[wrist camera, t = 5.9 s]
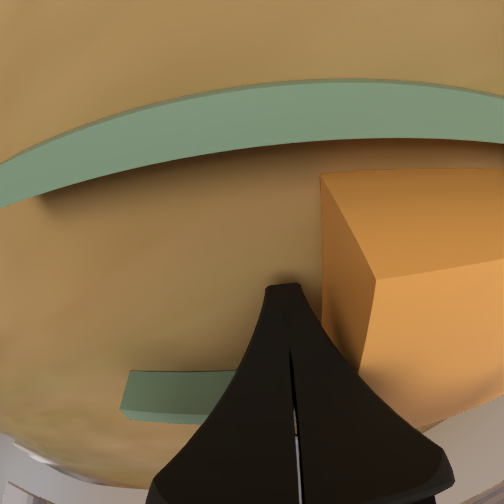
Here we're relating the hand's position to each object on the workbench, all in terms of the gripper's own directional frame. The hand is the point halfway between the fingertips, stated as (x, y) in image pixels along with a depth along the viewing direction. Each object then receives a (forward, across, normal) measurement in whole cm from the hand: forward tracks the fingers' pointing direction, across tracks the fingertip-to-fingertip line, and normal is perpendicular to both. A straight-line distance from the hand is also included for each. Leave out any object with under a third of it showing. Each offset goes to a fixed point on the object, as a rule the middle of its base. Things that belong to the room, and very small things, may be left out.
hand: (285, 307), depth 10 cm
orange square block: (+2, -6, 0) cm, 6 cm away
